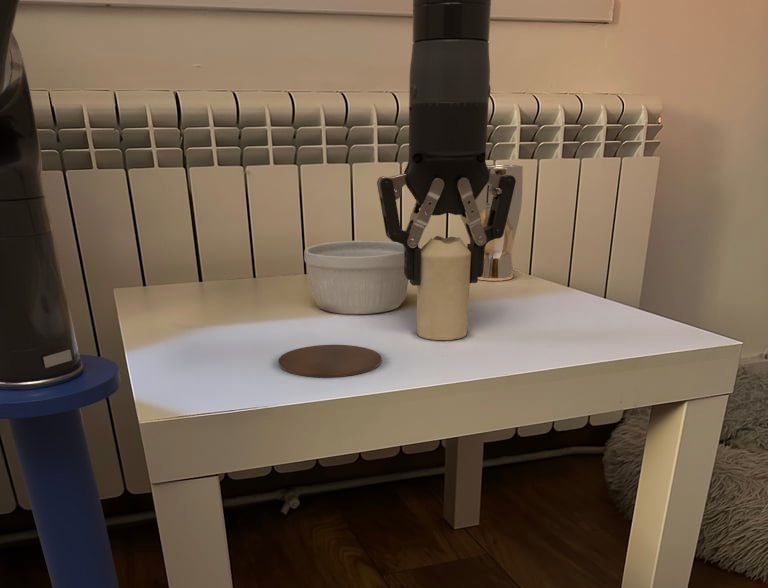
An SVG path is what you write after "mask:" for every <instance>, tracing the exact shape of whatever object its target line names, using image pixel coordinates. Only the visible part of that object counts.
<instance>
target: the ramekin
mask: <svg viewBox="0 0 768 588" xmlns="http://www.w3.org/2000/svg"><path fill="white" fill-rule="evenodd" d="M303 253H304V257H303V259H304V262H305V264H306V265H307V272H308V277H309V278H308V279H309V284H310V288H311V294H312V297H313V300H314V302H315V303H316V304H317V306H318V307H319V308H320V309H321V310H323V311H324V312H329V313H333V314H339V315H340V314H342V315H372V314H380V313H385V312H390V311H393V310H396V309H398V308H400V306H401V305H402V303H403V302H404V301H405V299H406V297H407V291H408V285H409V280H408V279H407V278H406V277H405V274H404V246H403V244H401V243H398V242H393V241H388V240H365V239H363V240H341V241H331V242H324V243H318V244H314V245H310V246H308V247H306V248H305V249H304V252H303Z"/></svg>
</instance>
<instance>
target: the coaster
mask: <svg viewBox="0 0 768 588" xmlns="http://www.w3.org/2000/svg"><path fill="white" fill-rule="evenodd" d="M382 361H383V360H382V356H381V354H380V353H379V352H378V351H375V350H374V349H371V348H368V347H363V346H358V345H349V344H319V345H311V346H310V345H309V346H305V347H299V348H296V349H292V350H290V351H287V352H285V353H283V354H281V355H280V356H279V357H278V361H277V363H278V366H279V368H280V369H281V370H283V371H285V372H287V373H290V374H293V375H297V376H303V377H312V378H339V377H348V376H356V375H360V374H363V373H367V372H370V371H373V370H374V369H376V368H378V367H379V366H380V365H381V364H382Z"/></svg>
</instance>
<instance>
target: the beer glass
mask: <svg viewBox="0 0 768 588" xmlns="http://www.w3.org/2000/svg"><path fill="white" fill-rule="evenodd" d="M486 165H487V168H488V170H489V173H493V174H498V175H501V174H506V175H511V176H513V177H514V178H515V180H516V183H515V187H514V192H513V196H512V200H511V204H510V209H509V213H508V217H507V222H506V226H505V230H504V234H503V236H502V237H501V238H499V239H497V238H496V239H494V240H491V241H489V242H488V243H487V244H486V246H485V252H484V270H483V274H482V277H478V281H487V282H503V281H508V280H511V279H513V278H514V268H513V267H514V266H513V247H514V242H515V238H516V233H517V229H518V225H519V221H520V217H521V211H522V203H523V191H524V187H523V186H524V185H523V184H524V183H523V180H524V179H523V177H524V176H523V173H524V172H523V171H524V169H523V168H524V166H523V165H516V164H515V165H514V164H486ZM492 200H493V196H491V195H490V192H489V185H488V183H487V184H486V185H485V187H484V188H483V190H482V191H481V193H480V194H479V196H478V197H477V199H476V200H475V202H476V205H477V208H478V211H479V214H480V217H481V223H482V226H483V228H484V227H486V226H487V222H488V218H489V213H490V209H491V204H492Z"/></svg>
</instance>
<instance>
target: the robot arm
mask: <svg viewBox="0 0 768 588" xmlns="http://www.w3.org/2000/svg"><path fill="white" fill-rule="evenodd" d="M19 4H20V0H0V390H32V389H40V388H46V387H51V386H55V385H60V384H63V383H66V382H69V381H71V380H74V379H76V378H77V377H79V376H80V375H82V373H83V371H84V370H83V366H82V362H81V361H80V354H81V353H80V349H79V346H78V342H77V337H76V331H75V327H74V323H73V318H72V313H71V308H70V303H69V299H68V293H67V289H66V283H65V280H64V276H63V275H64V274H63V270H62V265H61V261H60V255H59V251H58V246H57V242H56V241H57V240H56V237H55V232H54V227H53V222H52V218H51V217H52V216H51V214H50V209H49V204H48V199H47V196H46V194H47V193H46V189H45V184H44V178H43V158H42V157H43V156H42V149H41V142H40V137H39V133H38V126H37V122H36V116H35V111H34V105H33V101H32V95H31V89H30V85H29V80H28V75H27V70H26V65H25V61H24V58H23V54H22V50H21V48H20V46H19V43H18V41H17V39H16V37H15V34H14V33H13V30H14V26H15V21H16V17H17V12H18V8H19ZM491 6H492V0H412V46H411V57H410V64H409V76H408V77H409V83H408V84H409V85H408V86H409V87H408V89H409V91H408V160H407V165H406V167H405V169H404V171H403V173H400V174H396V175H391V176H380V177H379V178H378V179H377V180H376V181H377V182H376V185H377V191H378V196H379V202H380V207H381V213H382V221H383V224H384V230H385V235H386V237H387V238H388V239H389V240H390V241H391V242H397V243H401V244H403V246H404V274H405V277H406V278H407V279H408V281H409V283H410V285H411V286H415V287H416V286H418V285H420V269H421V248H420V247H419V244H420V242H421V239H422V236H423V234H424V231H425V229H426V227H428V225H429V222H430V220H431V217H432V216H442V215H443V216H444V215H446V214H451V215H454V216H460V219H461V221H462V223H463V225H464V227H465V231H466V234H467V237H468V240H469V243H467V244H466V247H467V248H468V249H469V251H470V252H471V265H470V284H477V283H478V281H479V280H478V277H482V274H483V270H484V252H485V246H486V244H487V243H488V242H489V241H491V240H494V239H496V238H497V239H499V238H501V237H502V236H503V234H504V230H505V226H506V222H507V217H508V213H509V209H510V204H511V200H512V196H513V192H514V187H515V183H516V180H515V178H514V177H513V176H511V175H506V174H501V175H498V174H493V173H489V170H488V168H487V165H488V164H487V163H486V162H487V161H486V155H487V139H488V138H487V137H488V120H489V119H488V118H489V101H490V96H491V83H490V81H491V63H490V43H489V41H490V29H491V28H490V27H491V8H492V7H491ZM487 183H488V185H489V192H490V195H491V196H493V200H492V204H491V209H490V213H489V218H488V222H487V226H486V227H484V228H483V226H482V223H481V217H480V214H479V211H478V208H477V205H476V202H475V200H476V199H477V197H478V196H479V194H480V193H481V191H482V190H483V188H484V187H485V185H486V184H487ZM404 186H406V187H407V189H408V191H409V192H410V193H411V195H412V197H413V199H414V200H415V203H414V206H413V208H412V211H411V213H410V216H409V220H408V224H407V226H406V229H405V230H404V229H401V224H400V217H399V216H400V215H399V211H398V205H397V200H398V199H400V198H401V197H402V191H403V190H402V189H403V188H404Z"/></svg>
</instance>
